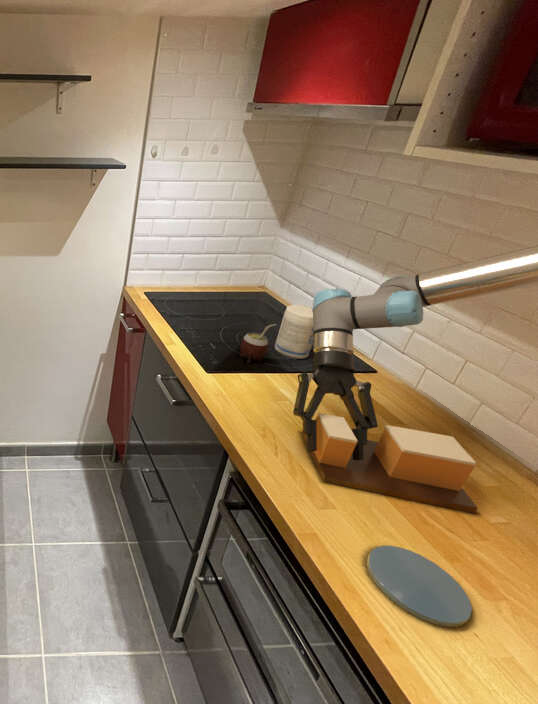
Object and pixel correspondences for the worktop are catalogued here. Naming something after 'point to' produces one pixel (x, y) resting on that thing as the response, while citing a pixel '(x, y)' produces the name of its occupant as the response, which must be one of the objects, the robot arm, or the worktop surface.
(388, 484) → the serving board
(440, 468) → the loaf cake
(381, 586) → the plate
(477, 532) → the worktop surface
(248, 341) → the mate gourd
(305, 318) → the supplement tub
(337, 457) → the cake slice
